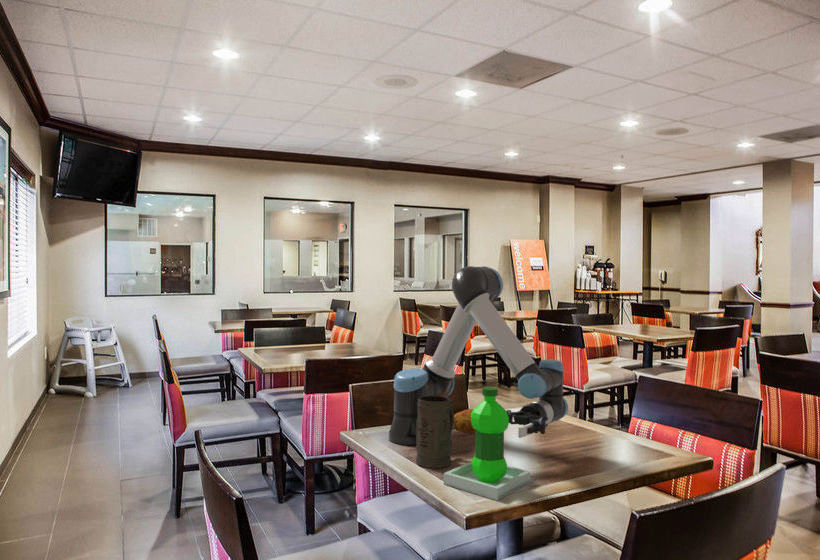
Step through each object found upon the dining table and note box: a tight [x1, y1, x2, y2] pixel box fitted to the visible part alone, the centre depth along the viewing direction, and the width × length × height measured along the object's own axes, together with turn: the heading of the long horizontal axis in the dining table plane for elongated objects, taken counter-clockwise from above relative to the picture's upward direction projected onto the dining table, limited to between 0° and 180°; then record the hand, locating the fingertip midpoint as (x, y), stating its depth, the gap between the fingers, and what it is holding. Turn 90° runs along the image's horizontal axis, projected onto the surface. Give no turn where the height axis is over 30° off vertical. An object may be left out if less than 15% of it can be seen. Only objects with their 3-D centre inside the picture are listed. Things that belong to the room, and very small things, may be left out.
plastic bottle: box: [471, 386, 510, 483], centre depth 157 cm, size 10×10×25 cm
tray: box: [443, 460, 531, 501], centre depth 157 cm, size 17×17×3 cm
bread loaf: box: [452, 408, 476, 434], centre depth 214 cm, size 14×16×8 cm
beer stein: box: [415, 396, 455, 469], centre depth 176 cm, size 15×11×20 cm
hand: (498, 428), depth 161 cm, fingers open, 13 cm apart
